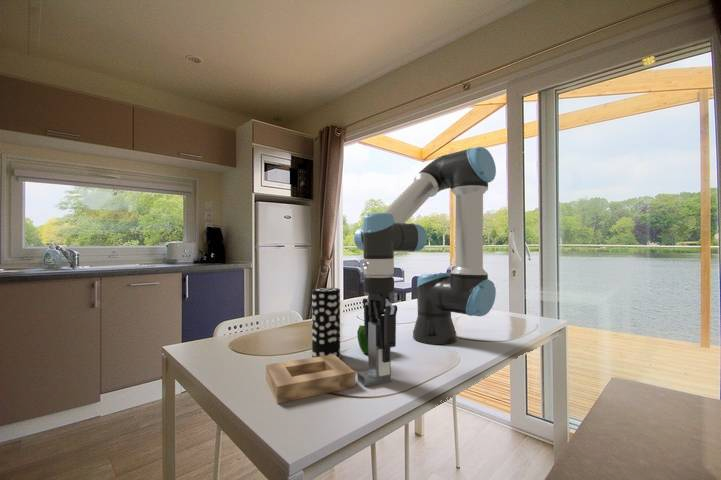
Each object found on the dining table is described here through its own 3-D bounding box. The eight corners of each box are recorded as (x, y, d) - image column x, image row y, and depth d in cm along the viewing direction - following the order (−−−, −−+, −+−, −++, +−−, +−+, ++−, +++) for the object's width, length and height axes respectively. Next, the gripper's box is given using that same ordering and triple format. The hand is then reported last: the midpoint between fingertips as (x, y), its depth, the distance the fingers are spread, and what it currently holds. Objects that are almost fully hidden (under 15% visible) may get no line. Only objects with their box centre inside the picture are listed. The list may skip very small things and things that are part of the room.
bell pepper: (387, 355, 98) (386, 322, 98) (360, 357, 96) (359, 323, 97) (380, 347, 106) (380, 316, 106) (355, 348, 105) (355, 317, 105)
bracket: (382, 375, 82) (382, 320, 83) (390, 381, 79) (390, 323, 79) (357, 380, 79) (357, 323, 80) (364, 387, 76) (364, 326, 76)
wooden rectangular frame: (333, 367, 88) (333, 354, 88) (355, 387, 76) (355, 371, 76) (265, 379, 81) (266, 364, 81) (277, 403, 68) (277, 386, 68)
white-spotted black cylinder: (335, 362, 92) (335, 291, 92) (308, 360, 94) (307, 291, 94) (343, 353, 100) (342, 288, 101) (317, 351, 102) (317, 287, 102)
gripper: (350, 274, 86) (351, 362, 86) (382, 279, 71) (383, 387, 70) (375, 273, 90) (376, 358, 89) (411, 278, 74) (412, 381, 74)
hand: (379, 371), depth 80 cm, fingers closed on bracket, 4 cm apart
